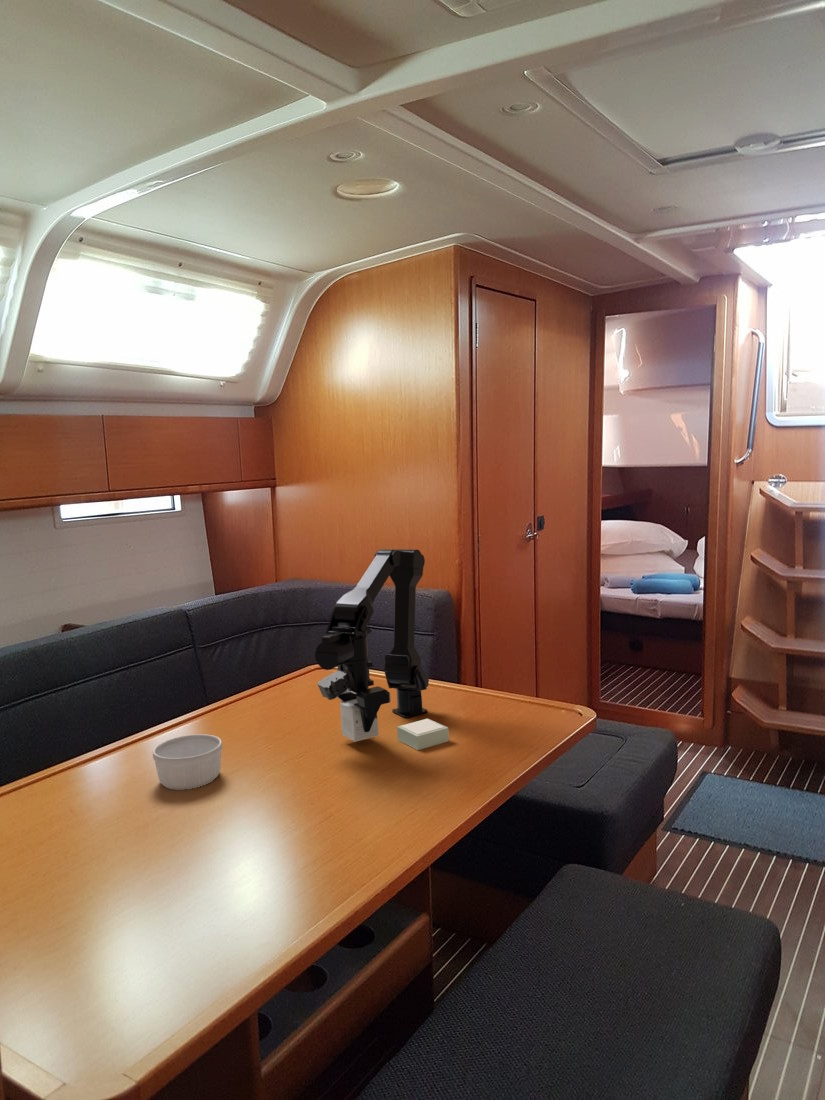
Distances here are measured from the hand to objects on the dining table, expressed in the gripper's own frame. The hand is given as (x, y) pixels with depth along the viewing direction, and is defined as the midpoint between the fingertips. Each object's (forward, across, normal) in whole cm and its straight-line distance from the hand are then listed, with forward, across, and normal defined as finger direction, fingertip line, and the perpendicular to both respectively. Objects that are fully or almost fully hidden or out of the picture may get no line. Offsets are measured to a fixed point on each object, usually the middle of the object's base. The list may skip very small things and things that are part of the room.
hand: (359, 727), depth 166 cm
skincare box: (+2, 0, 0) cm, 2 cm away
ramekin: (+4, -5, -36) cm, 36 cm away
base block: (+3, +8, +11) cm, 14 cm away
